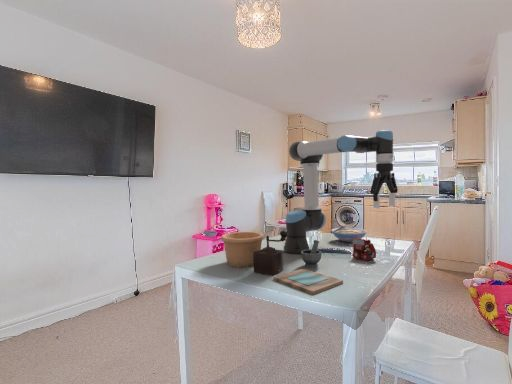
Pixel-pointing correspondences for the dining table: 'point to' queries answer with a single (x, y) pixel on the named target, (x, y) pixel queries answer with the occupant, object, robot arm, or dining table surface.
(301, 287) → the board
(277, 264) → the manual coffee grinder
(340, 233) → the ramen bowl
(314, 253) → the mortar and pestle
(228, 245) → the pottery
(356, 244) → the toy fire truck
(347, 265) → the dining table surface
